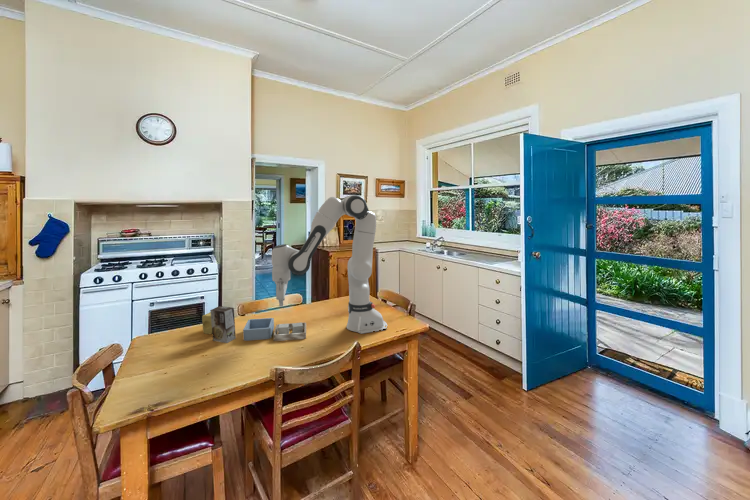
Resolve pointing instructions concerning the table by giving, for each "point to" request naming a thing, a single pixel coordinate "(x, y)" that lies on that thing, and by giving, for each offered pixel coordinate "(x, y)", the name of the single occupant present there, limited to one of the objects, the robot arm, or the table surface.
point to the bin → (258, 329)
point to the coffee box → (223, 324)
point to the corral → (289, 336)
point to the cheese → (207, 323)
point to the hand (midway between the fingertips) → (282, 303)
